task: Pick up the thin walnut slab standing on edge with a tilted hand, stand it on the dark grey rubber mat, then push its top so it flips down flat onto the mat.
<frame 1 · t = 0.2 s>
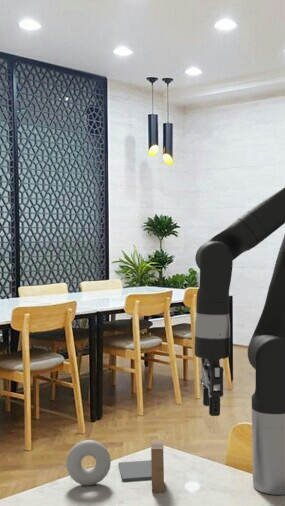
hand: (211, 410, 130), 18 cm above the table, tool pointing down, fingers open, 8 cm apart
donut: (89, 485, 136), on the table
walnut slab: (158, 487, 134), on the table
rubber mat: (139, 471, 143), on the table
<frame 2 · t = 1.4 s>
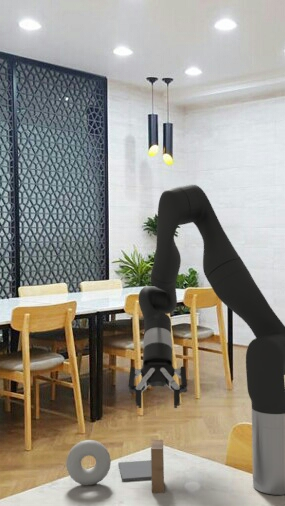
hand: (157, 406, 145), 15 cm above the table, tool tilted 45°, fingers open, 8 cm apart
nothing on the table moved.
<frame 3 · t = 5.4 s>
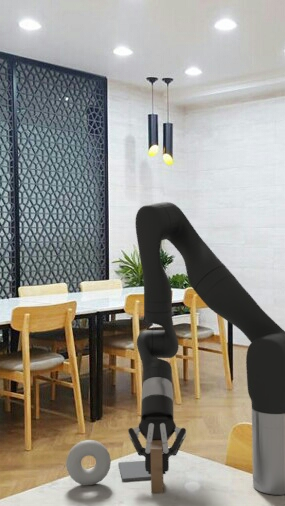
hand: (157, 472, 132), 4 cm above the table, tool tilted 45°, fingers closed on walnut slab, 2 cm apart
walnut slab: (157, 486, 134), on the table, touching gripper
everything else where it was.
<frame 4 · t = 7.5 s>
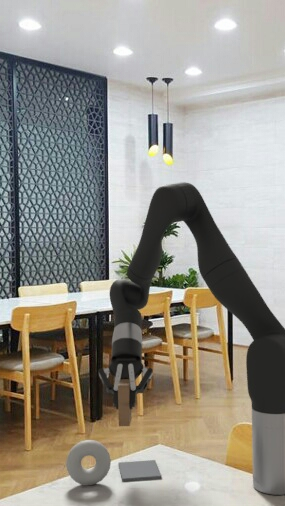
hand: (124, 407, 140), 16 cm above the table, tool tilted 45°, fingers closed on walnut slab, 2 cm apart
walnut slab: (125, 422, 142), point 12 cm above the table, touching gripper
everything else where it was.
when the fingers open (6 cm above the table, at t = 9.6 s): walnut slab stays where it is, resting on rubber mat.
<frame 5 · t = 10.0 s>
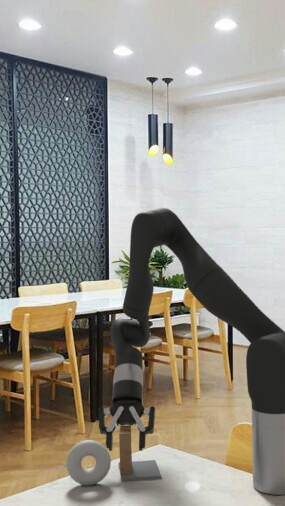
hand: (125, 449, 141), 6 cm above the table, tool tilted 45°, fingers open, 6 cm apart
walnut slab: (126, 469, 143), point 1 cm above the table, touching rubber mat
everything else where it was.
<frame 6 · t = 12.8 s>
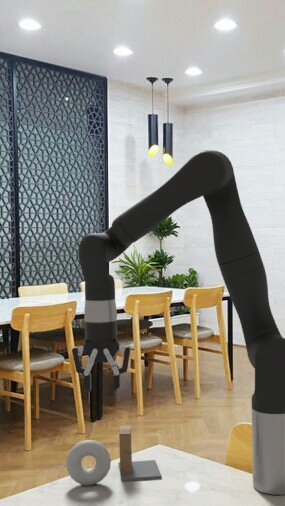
hand: (102, 390, 142), 19 cm above the table, tool pointing down, fingers open, 5 cm apart
nothing on the table moved.
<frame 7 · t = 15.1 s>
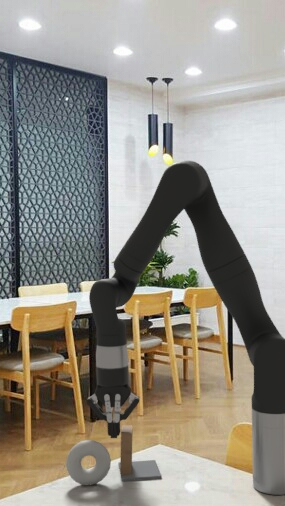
hand: (114, 437, 142), 8 cm above the table, tool pointing down, fingers closed
walnut slab: (126, 469, 143), point 1 cm above the table, touching gripper, rubber mat
everything else where it was.
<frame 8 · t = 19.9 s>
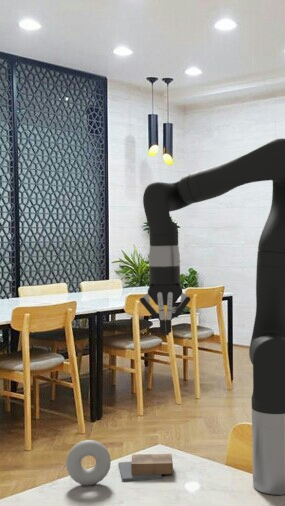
hand: (165, 334, 149), 31 cm above the table, tool pointing down, fingers closed
walnut slab: (131, 464, 143), point 2 cm above the table, tilted 90°, touching rubber mat
everything else where it was.
at the end: walnut slab tilted 90°; walnut slab 1.8 cm from the rubber mat (horizontally); walnut slab point 1.8 cm above the table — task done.
